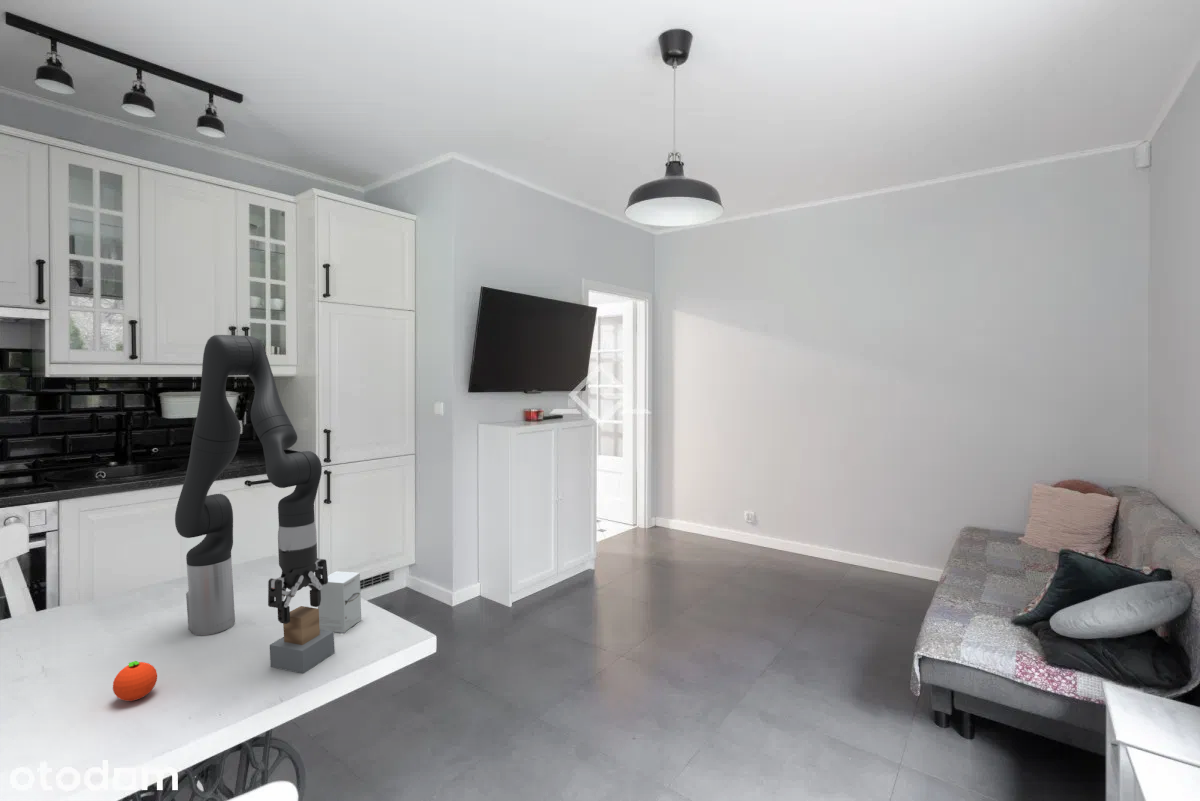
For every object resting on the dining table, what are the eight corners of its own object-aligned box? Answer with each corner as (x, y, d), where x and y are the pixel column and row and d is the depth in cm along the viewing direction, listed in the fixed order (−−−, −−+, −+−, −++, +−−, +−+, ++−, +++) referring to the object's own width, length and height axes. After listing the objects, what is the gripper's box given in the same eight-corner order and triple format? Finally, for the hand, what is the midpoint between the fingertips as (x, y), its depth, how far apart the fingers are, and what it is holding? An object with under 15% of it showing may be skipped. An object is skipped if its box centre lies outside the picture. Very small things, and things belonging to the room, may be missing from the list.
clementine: (110, 696, 115) (107, 662, 115) (153, 681, 121) (150, 649, 120) (117, 713, 110) (114, 677, 110) (162, 697, 115) (159, 662, 115)
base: (270, 666, 126) (269, 644, 126) (303, 647, 135) (302, 626, 134) (303, 673, 123) (302, 650, 123) (334, 652, 132) (333, 631, 132)
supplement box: (344, 633, 141) (342, 583, 140) (317, 630, 143) (315, 581, 142) (362, 620, 148) (360, 572, 147) (337, 617, 150) (334, 570, 149)
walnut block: (284, 641, 127) (282, 615, 127) (302, 631, 132) (300, 605, 131) (302, 645, 126) (301, 618, 125) (319, 634, 130) (318, 608, 130)
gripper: (309, 531, 135) (311, 599, 136) (256, 551, 121) (259, 626, 123) (335, 535, 133) (337, 603, 134) (284, 555, 119) (287, 631, 120)
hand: (300, 614), depth 128 cm, fingers open, 8 cm apart
